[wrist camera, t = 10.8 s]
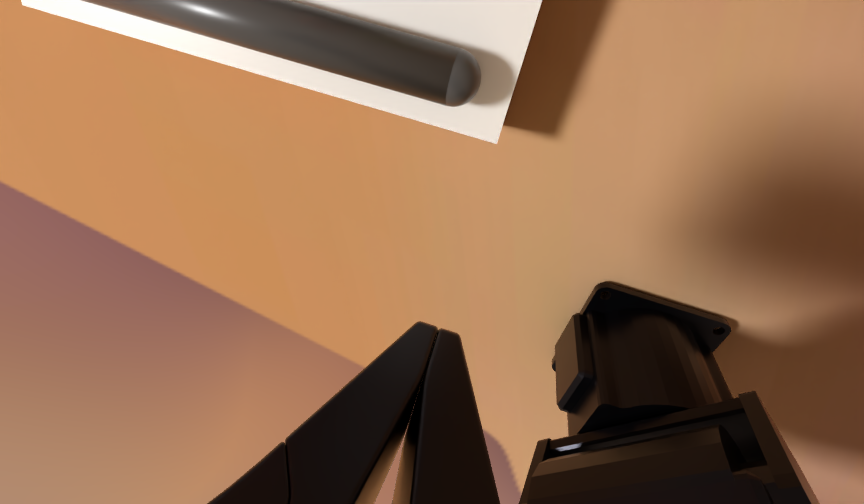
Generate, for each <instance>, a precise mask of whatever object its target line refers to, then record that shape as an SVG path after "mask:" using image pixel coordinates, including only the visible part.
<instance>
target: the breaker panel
mask: <svg viewBox="0 0 864 504" xmlns="http://www.w3.org/2000/svg"><path fill="white" fill-rule="evenodd" d="M21 1H22V4H23V5H24V6H28V7H31V8H34V9H38V10H41V11H45V12H48V13H51V14H55V15H58V16H62V17H65V18H69V19H72V20H75V21H79V22H82V23H86V24H89V25H92V26H96V27H99V28H103V29H106V30H109V31H113V32H116V33H120V34H123V35H127V36H130V37H133V38H137V39H140V40H144V41H147V42H150V43H154V44H157V45H161V46H164V47H167V48H171V49H174V50H178V51H181V52H185V53H188V54H191V55H195V56H198V57H202V58H205V59H208V60H212V61H215V62H219V63H222V64H226V65H229V66H232V67H236V68H239V69H243V70H246V71H249V72H253V73H256V74H260V75H263V76H266V77H270V78H273V79H277V80H280V81H284V82H287V83H290V84H294V85H297V86H301V87H304V88H307V89H311V90H314V91H318V92H321V93H324V94H328V95H331V96H335V97H338V98H342V99H345V100H348V101H352V102H355V103H359V104H362V105H365V106H369V107H372V108H376V109H379V110H382V111H386V112H389V113H393V114H396V115H400V116H403V117H406V118H410V119H413V120H417V121H420V122H423V123H427V124H430V125H434V126H437V127H440V128H444V129H447V130H451V131H454V132H458V133H461V134H464V135H468V136H471V137H475V138H478V139H481V140H485V141H488V142H492V143H495V144H497V141H498V138H499V135H500V132H501V129H502V126H503V123H504V119H505V116H506V113H507V110H508V107H509V104H510V101H511V97H512V94H513V91H514V88H515V85H516V82H517V78H518V75H519V72H520V69H521V66H522V63H523V60H524V56H525V53H526V50H527V47H528V44H529V41H530V38H531V34H532V31H533V28H534V25H535V22H536V19H537V15H538V12H539V9H540V6H541V3H542V0H21Z"/></svg>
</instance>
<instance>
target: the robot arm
mask: <svg viewBox="0 0 864 504" xmlns="http://www.w3.org/2000/svg"><path fill="white" fill-rule="evenodd" d="M604 291H607V292H609V293H608V294H606V295H603V294H601V293H602V292H604ZM716 327H721V328H719V329H714V328H716ZM730 332H731V328H730V326H729V324H728V322H727V321H726V320H725V319H723V318H720V317H717V316H714V315H710V314H707V313H704V312H701V311H698V310H694V309H691V308H688V307H685V306H682V305H678V304H675V303H672V302H669V301H666V300H662V299H659V298H656V297H653V296H649V295H646V294H643V293H640V292H637V291H633V290H630V289H627V288H624V287H621V286H617V285H614V284H611V283H606V282H604V283H600V284H598V285H596V286H595V288H594V289H593V291H592V293H591V294H590V296H589V298H588V299H587V301H586V303H585V305H584V306H583V308H582V310H581V311H580V313H576V314H575V315H573V316H572V318H571V319H570V321H569V323H568V324H567V326H566V328H565V330H564V331H563V333H562V335H561V337H560V338H559V340H558V342H557V344H556V345H555V356H554V357H553V359H552V368H553V370H554V371H555V372H556V394H557V405H558V407H559V409H560V410H562V411H565V412H567V418H568V437H563V438H559V439H554V440H551V439H550V438H548V439H544V440H540V441H538V442H537V446H536V449H535V452H534V455H533V459H532V462H531V465H530V469H529V472H528V475H527V478H526V482H525V485H524V488H523V492H522V495H521V498H520V502H519V504H820V503H819V501H818V500H817V498H816V496H815V494H814V492H813V490H812V489H811V487H810V485H809V483H808V481H807V479H806V478H805V476H804V474H803V472H802V470H801V468H800V467H799V465H798V463H797V461H796V460H795V458H794V456H793V455H792V453H791V451H790V449H789V448H788V446H787V444H786V443H785V441H784V439H783V438H782V436H781V434H780V432H779V431H778V429H777V427H776V426H775V424H774V422H773V421H772V419H771V417H770V416H769V414H768V412H767V410H766V409H765V407H764V405H763V404H762V402H761V400H760V399H759V397H758V395H757V393H756V392H755V391H752V392H748V393H743V394H739V395H738V396H739V398H734V399H733V397H732V395H731V393H730V391H729V389H728V386H727V384H726V382H725V380H724V378H723V376H722V373H721V371H720V369H719V367H718V365H717V363H716V360H715V358H714V356H713V354H712V352H713V351H714V350H715V349H716V348H717V347H718V346H719V345H720V344H721V343H722V342H723V341H724V339H725V338H726V337H727V336H728V335H729V334H730ZM436 335H437V336H436ZM435 338H436V339H435ZM434 341H435V342H434ZM433 344H434V345H433ZM429 357H430V358H429ZM428 360H429V361H428ZM423 376H424V377H423ZM422 379H423V380H422ZM417 395H418V396H417ZM416 398H417V399H416ZM415 401H416V402H415ZM414 404H415V405H414ZM411 414H412V415H411ZM410 417H411V418H410ZM409 420H410V421H409ZM408 423H409V424H408ZM407 426H408V428H407ZM406 429H407V431H406ZM405 432H406V435H405ZM404 435H405V438H404ZM403 438H404V443H403V448H402V453H401V458H400V463H399V468H398V474H397V479H396V484H395V490H394V495H393V500H392V504H500V501H499V497H498V493H497V488H496V484H495V480H494V476H493V472H492V467H491V464H490V459H489V455H488V451H487V446H486V443H485V438H484V434H483V430H482V426H481V421H480V417H479V413H478V409H477V405H476V401H475V396H474V392H473V388H472V384H471V380H470V375H469V371H468V367H467V363H466V359H465V355H464V350H463V346H462V342H461V338H460V336H459V334H457V333H455V332H452V331H449V330H446V329H442V328H441V329H439V330H438V328H437V327H436V326H433V325H430V324H427V323H424V322H421V321H419V322H417V323H415V324H414V325H413V326H412V327H411V328H410V329H408V330H407V331H406V332H405V333H404V334H403V335H402V336H401V337H399V338H398V339H397V340H396V341H395V342H394V343H393V344H392V345H390V346H389V347H388V348H387V349H386V350H385V351H384V352H383V353H381V354H380V355H379V356H378V357H377V358H376V359H375V360H374V361H372V362H371V363H370V364H369V365H368V366H367V367H366V368H365V369H363V370H362V371H361V372H360V373H359V374H358V375H357V376H356V377H355V378H353V379H352V380H351V381H350V382H349V383H348V384H347V385H345V386H344V387H343V388H342V389H341V390H340V391H339V392H338V393H337V394H335V395H334V396H333V397H332V398H331V399H330V400H329V401H328V402H326V403H325V404H324V405H323V406H322V407H321V408H319V409H318V410H317V411H316V412H315V413H314V414H313V415H312V416H310V417H309V418H308V419H307V420H306V421H305V422H304V423H303V424H301V425H300V426H299V427H298V428H297V429H296V430H295V431H294V432H292V433H291V434H290V435H289V436H288V437H287V438H286V440H285V443H284V442H281V443H280V444H279V445H278V446H276V447H275V448H274V449H273V450H272V451H271V452H270V453H269V454H267V455H266V456H265V457H264V458H263V459H262V460H261V461H259V462H258V463H257V464H256V465H255V466H253V467H252V468H251V469H250V470H249V471H247V472H246V473H245V474H244V475H243V476H242V477H240V478H239V479H238V480H237V481H236V482H234V483H233V484H232V485H231V486H230V487H228V488H227V489H226V490H224V491H223V492H222V493H220V494H219V495H218V496H216V497H215V498H214V499H213V500H212V501H210V502H209V503H207V504H374V503H375V501H376V498H377V496H378V494H379V491H380V489H381V487H382V485H383V483H384V481H385V478H386V476H387V474H388V472H389V470H390V467H391V465H392V463H393V461H394V458H395V456H396V454H397V452H398V450H399V447H400V445H401V442H402V440H403Z"/></svg>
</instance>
